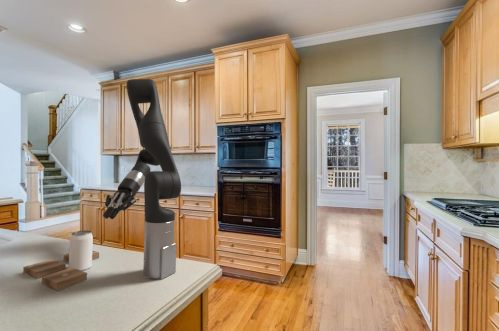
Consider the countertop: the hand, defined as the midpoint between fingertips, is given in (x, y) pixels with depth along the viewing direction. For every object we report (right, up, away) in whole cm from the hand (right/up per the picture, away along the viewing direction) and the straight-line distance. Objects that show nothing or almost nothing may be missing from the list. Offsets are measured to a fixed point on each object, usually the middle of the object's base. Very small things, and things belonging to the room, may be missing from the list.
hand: (107, 217), depth 96 cm
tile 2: (-13, -15, -14) cm, 24 cm away
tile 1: (-1, -15, -20) cm, 25 cm away
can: (-3, -15, -10) cm, 19 cm away
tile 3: (-8, -15, -2) cm, 17 cm away
